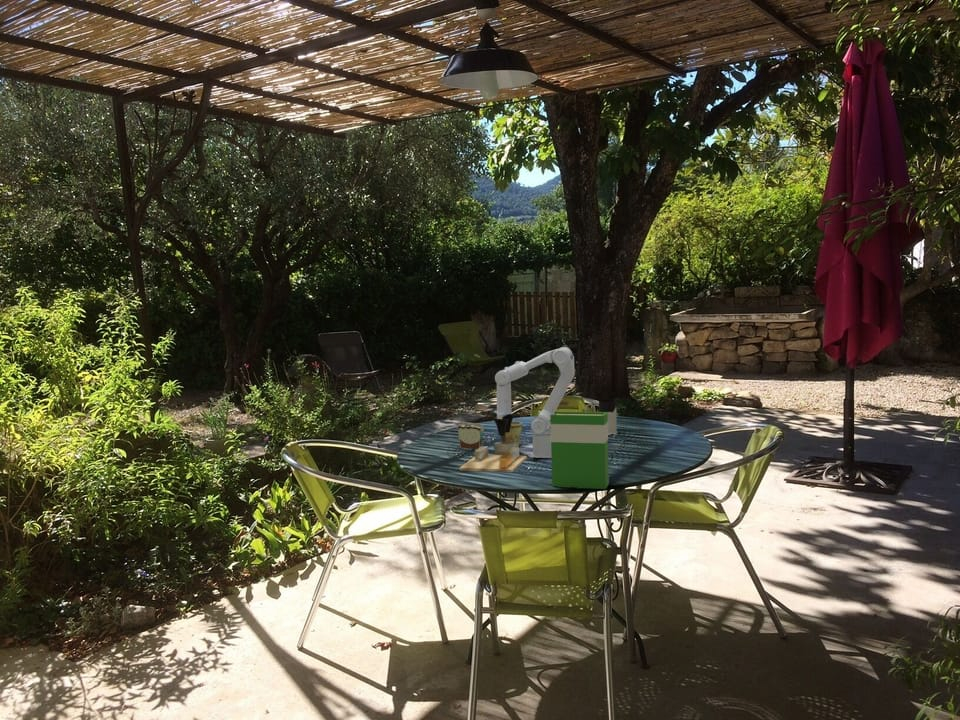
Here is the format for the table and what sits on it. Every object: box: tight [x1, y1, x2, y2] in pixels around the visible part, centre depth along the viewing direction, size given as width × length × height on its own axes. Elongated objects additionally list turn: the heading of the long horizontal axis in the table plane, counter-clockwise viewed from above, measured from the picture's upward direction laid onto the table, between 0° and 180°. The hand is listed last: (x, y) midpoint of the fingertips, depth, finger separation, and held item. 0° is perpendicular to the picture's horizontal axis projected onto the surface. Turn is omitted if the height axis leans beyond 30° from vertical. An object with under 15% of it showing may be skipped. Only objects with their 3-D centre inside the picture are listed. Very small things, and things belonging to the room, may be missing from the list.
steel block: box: [493, 441, 516, 455], centre depth 301 cm, size 8×4×5 cm, turn 73°
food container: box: [456, 422, 485, 451], centre depth 318 cm, size 12×6×10 cm, turn 59°
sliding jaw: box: [499, 446, 520, 468], centre depth 283 cm, size 2×20×4 cm, turn 163°
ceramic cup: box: [500, 420, 523, 447], centre depth 319 cm, size 13×10×10 cm
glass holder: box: [584, 399, 618, 435], centre depth 337 cm, size 9×14×15 cm, turn 89°
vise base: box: [459, 445, 528, 473], centre depth 286 cm, size 20×23×5 cm
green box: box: [550, 410, 610, 490], centre depth 250 cm, size 18×7×24 cm, turn 72°
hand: (504, 434), depth 301 cm, fingers open, 7 cm apart
